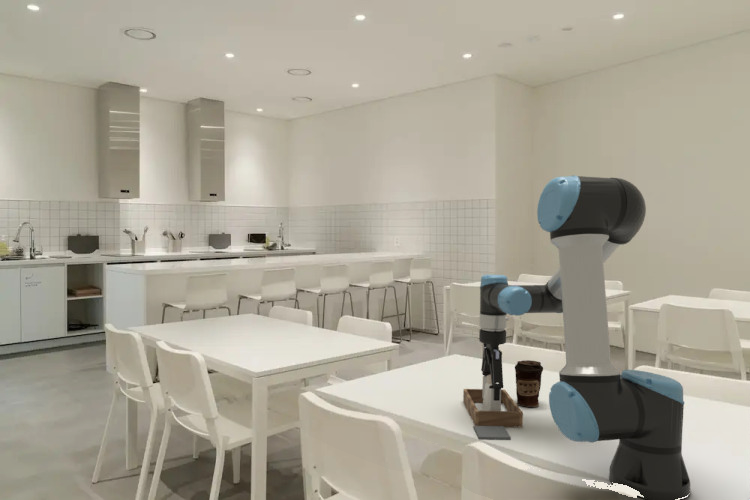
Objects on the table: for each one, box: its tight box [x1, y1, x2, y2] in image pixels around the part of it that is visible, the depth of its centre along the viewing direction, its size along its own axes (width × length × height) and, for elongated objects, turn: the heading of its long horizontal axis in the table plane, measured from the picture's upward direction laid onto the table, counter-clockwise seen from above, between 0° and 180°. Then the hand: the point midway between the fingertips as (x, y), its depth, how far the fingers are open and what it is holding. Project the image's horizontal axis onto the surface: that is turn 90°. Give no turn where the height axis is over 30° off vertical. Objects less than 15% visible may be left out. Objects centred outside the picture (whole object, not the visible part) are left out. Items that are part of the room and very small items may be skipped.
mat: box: [472, 425, 512, 441], centre depth 145 cm, size 8×8×1 cm
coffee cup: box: [514, 359, 544, 408], centre depth 169 cm, size 9×8×13 cm
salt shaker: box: [481, 375, 492, 411], centre depth 160 cm, size 5×5×11 cm
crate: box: [462, 388, 524, 428], centre depth 160 cm, size 22×13×4 cm, turn 0°
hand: (491, 404), depth 160 cm, fingers open, 11 cm apart
